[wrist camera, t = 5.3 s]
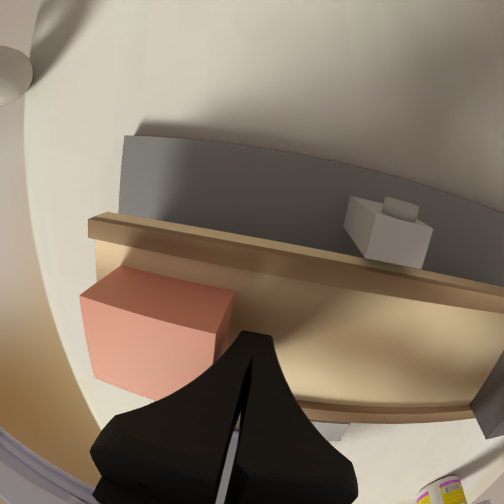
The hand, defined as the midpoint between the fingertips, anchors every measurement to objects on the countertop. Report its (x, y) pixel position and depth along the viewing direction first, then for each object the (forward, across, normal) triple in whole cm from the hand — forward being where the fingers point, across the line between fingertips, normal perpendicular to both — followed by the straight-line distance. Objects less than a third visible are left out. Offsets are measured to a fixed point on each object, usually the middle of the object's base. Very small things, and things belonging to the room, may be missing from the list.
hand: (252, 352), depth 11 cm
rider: (+1, +4, 0) cm, 4 cm away
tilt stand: (+6, -4, 0) cm, 8 cm away
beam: (+1, -4, 0) cm, 5 cm away
